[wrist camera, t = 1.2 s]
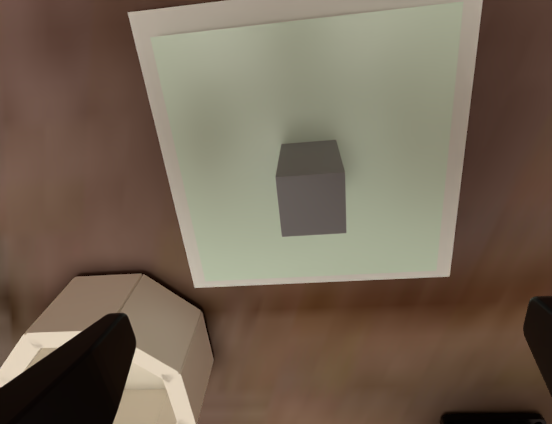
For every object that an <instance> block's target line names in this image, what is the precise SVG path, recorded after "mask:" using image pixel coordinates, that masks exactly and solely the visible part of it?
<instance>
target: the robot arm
mask: <svg viewBox="0 0 552 424" xmlns="http://www.w3.org/2000/svg"><path fill="white" fill-rule="evenodd" d="M523 331H524V336H525V338H526V341H527V343H528V345H529V347H530V350H531V352H532V354H533V356H534V359H535V361H536V363H537V365H538V368H539V370H540V372H541V374H542V376H543V379H544V381H545V383H546V385H547V388H548V390H549V392H550V394H551V396H552V296H537V297H533V298H531V300H530V301H529V304H528V309H527V313H526V317H525V321H524V326H523ZM135 349H136V337H135V334H134V331H133V329H132V326H131V323H130V320H129V318H128V316H127V314H125V313H109V314H106V315H105V316H103V317H102V318H101V319H99V320H98V321H96V322H95V323H93V324H92V325H90V326H89V327H88V328H86V329H85V330H83V331H82V332H80V333H79V334H77V335H76V336H74V337H73V338H72V339H70V340H69V341H67V342H66V343H64V344H63V345H61V346H60V347H59V348H57V349H56V350H54V351H53V352H51V353H50V354H48V355H47V356H46V357H44V358H43V359H41V360H40V361H38V362H37V363H35V364H34V365H33V366H31V367H30V368H28V369H27V370H25V371H24V372H22V373H21V374H20V375H18V376H17V377H15V378H14V379H12V380H11V381H9V382H8V383H7V384H5V385H4V386H2V387H1V388H0V424H113V422H114V419H115V416H116V414H117V411H118V408H119V405H120V402H121V398H122V395H123V391H124V388H125V384H126V381H127V377H128V374H129V370H130V367H131V364H132V360H133V357H134V353H135ZM441 424H546V421H545V420H544V418H543V416H542V415H540V414H449V415H445V416H443V417H442V419H441Z"/></svg>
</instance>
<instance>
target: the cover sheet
mask: <svg viewBox="0 0 552 424" xmlns="http://www.w3.org/2000/svg"><path fill="white" fill-rule="evenodd" d="M463 2H464V1H463ZM463 2H454V3H445V4H436V5H428V6H419V7H410V8H402V9H393V10H384V11H375V12H367V13H358V14H349V15H340V16H332V17H323V18H314V19H306V20H297V21H288V22H279V23H271V24H262V25H253V26H244V27H236V28H227V29H218V30H210V31H201V32H192V33H183V34H175V35H166V36H157V37H150V39H151V43H152V48H153V52H154V57H155V61H156V65H157V70H158V74H159V79H160V83H161V88H162V92H163V96H164V101H165V105H166V110H167V114H168V118H169V123H170V127H171V132H172V136H173V141H174V145H175V149H176V154H177V158H178V163H179V167H180V172H181V176H182V180H183V185H184V189H185V194H186V198H187V203H188V207H189V211H190V216H191V220H192V225H193V229H194V233H195V238H196V242H197V247H198V251H199V256H200V260H201V264H202V269H203V273H204V278H205V281H224V280H246V279H267V278H289V277H311V276H333V275H354V274H376V273H398V272H420V271H436V270H437V260H438V250H439V240H440V230H441V220H442V210H443V200H444V191H445V181H446V171H447V161H448V151H449V141H450V131H451V121H452V111H453V101H454V91H455V81H456V72H457V62H458V52H459V42H460V32H461V22H462V12H463Z"/></svg>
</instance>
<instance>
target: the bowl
mask: <svg viewBox="0 0 552 424" xmlns="http://www.w3.org/2000/svg"><path fill="white" fill-rule="evenodd" d="M109 313H125V314H127V316H128V318H129V320H130V323H131V326H132V329H133V331H134V334H135V337H136V349H135V353H134V357H133V360H132V364H131V367H130V370H129V374H128V377H127V381H126V384H125V388H124V391H123V395H122V398H121V402H120V405H119V408H118V411H117V414H116V416H115V419H114V422H113V424H197V423H198V419H199V415H200V411H201V407H202V404H203V400H204V396H205V392H206V388H207V384H208V381H209V377H210V373H211V369H212V365H213V362H214V359H213V355H212V351H211V346H210V342H209V338H208V334H207V330H206V326H205V321H204V317H203V313H202V312H201V310H199V309H198V308H196V307H195V306H193V305H192V304H190V303H188V302H187V301H185V300H184V299H182V298H181V297H179V296H177V295H176V294H174V293H173V292H171V291H170V290H168V289H166V288H165V287H163V286H162V285H160V284H159V283H157V282H155V281H154V280H152V279H151V278H149V277H148V276H146V275H145V274H143V276H142V273H139V274H119V275H99V276H78V277H75V278H73V279H72V280H71V282H70V283H69V284H68V285H67V286H66V287H65V288H64V289H63V291H62V292H61V293H60V294H59V295H58V296H57V297H56V298H55V300H54V301H53V302H52V303H51V304H50V305H49V306H48V307H47V309H46V310H45V311H44V312H43V313H42V314H41V315H40V316H39V318H38V319H37V320H36V321H35V322H34V323H33V324H32V325H31V327H30V328H29V329H28V330H27V331H26V332H25V333H24V335H23V336H22V337H21V339H20V340H19V342H18V343H17V345H16V346H15V348H14V349H13V351H12V352H11V354H10V355H9V357H8V358H7V360H6V361H5V362H4V364H3V365H2V367H1V368H0V387H2V386H4V385H5V384H7V383H8V382H9V381H11V380H12V379H14V378H15V377H17V376H18V375H20V374H21V373H22V372H24V371H25V370H27V369H28V368H30V367H31V366H33V365H34V364H35V363H37V362H38V361H40V360H41V359H43V358H44V357H46V356H47V355H48V354H50V353H51V352H53V351H54V350H56V349H57V348H59V347H60V346H61V345H63V344H64V343H66V342H67V341H69V340H70V339H72V338H73V337H74V336H76V335H77V334H79V333H80V332H82V331H83V330H85V329H86V328H88V327H89V326H90V325H92V324H93V323H95V322H96V321H98V320H99V319H101V318H102V317H103V316H105V315H106V314H109Z"/></svg>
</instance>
